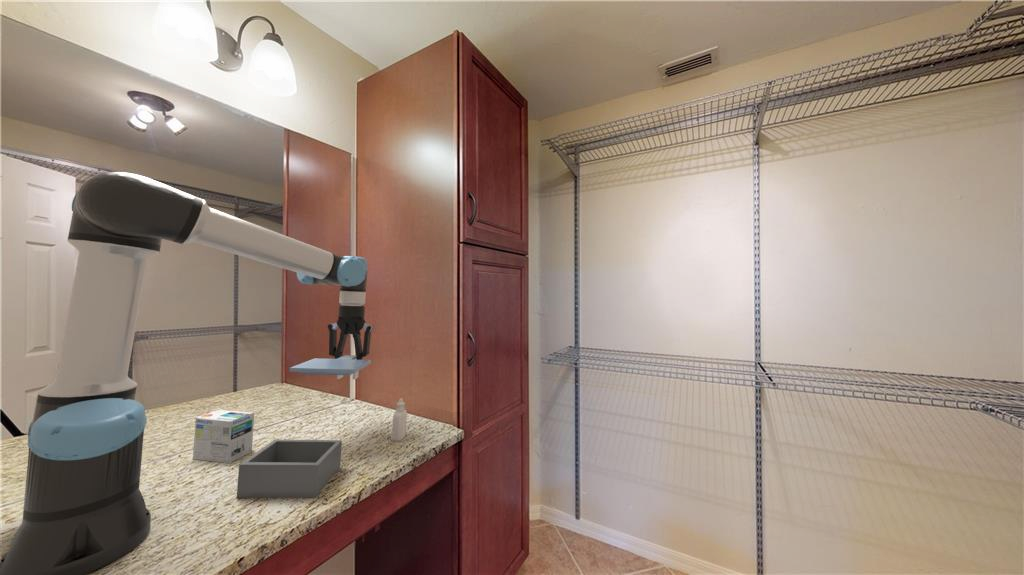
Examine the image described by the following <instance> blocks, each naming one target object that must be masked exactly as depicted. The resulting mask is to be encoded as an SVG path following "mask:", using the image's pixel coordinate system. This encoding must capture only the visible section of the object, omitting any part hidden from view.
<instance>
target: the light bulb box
mask: <svg viewBox="0 0 1024 575" xmlns="http://www.w3.org/2000/svg"><path fill="white" fill-rule="evenodd" d="M254 423H255V412H251V411H237V410H227V409H217V410H215V411H211V412H209V413H206V414H201V415H199V416H196V417H195V425H194V440H193V453H192V460H198V461H208V462H215V463H223V464H231V463H232V462H234V461H236V460H238V459H241V458H242V457H244V456H246V455H248V454H250V453H252V451H253V440H254V439H253V437H254V427H255V426H254Z"/></svg>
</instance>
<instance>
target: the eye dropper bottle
mask: <svg viewBox="0 0 1024 575" xmlns="http://www.w3.org/2000/svg"><path fill="white" fill-rule="evenodd" d="M405 405H406V402H404V400H403V398H399V401H398V402H397V403H396V408H395V409H396V410H395V412H394V413H393V416H392V427H391V428H392V429H391V440H392V441H393V442H400V441H401V440H403V439H404V438H405V436H406V431H407V420H408V419H407V418H408V417H407V416H408V415H407V414H408V412H407V410H406V408H405V407H406V406H405Z"/></svg>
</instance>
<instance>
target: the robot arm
mask: <svg viewBox="0 0 1024 575" xmlns="http://www.w3.org/2000/svg"><path fill="white" fill-rule="evenodd" d="M71 211H72V214H71V220H70V226H69V230H68V236H67V242H68V243H69V244H70V245H71V246H73V247H74V248H75V249H76V250H77V251H78V256H77V262H76V267H75V273H74V276H73V278H74V279H73V283H72V287H71V288H72V289H71V294H70V299H69V305H68V310H67V314H66V319H65V326H64V330H63V337H62V342H61V347H60V351H59V352H60V353H59V356H58V361H57V362H58V363H57V367H56V374H55V377H54V381H53V382H51V383H50V384H48V385H46V386H45V387H43V388H42V389H39V391H38V392H37V398H36V402H35V407H34V412H33V413H34V414H33V418H32V421H31V422H30V423H29V426H28V429H27V430H28V431H27V447H28V452H27V453H28V454H27V456H28V457H27V469H26V479H25V490H24V500H23V511H22V512H23V513H22V522H21V524H19V525H20V526H19V527H18V529H17V531H16V533H15V535H14V537H13V539H12V541H11V543H10V545H9V548H8V551H7V552H6V553H5V554H4V555H3V556H2V557H1V559H0V575H88V574H90V573H92V572H95V571H96V569H97V570H99V569H100V568H101V569H102V568H103V567H105V566H107V565H109V564H111V563H113V562H114V561H116V560H118V559H120V558H121V557H123V556H125V555H126V554H128V553H130V551H132V550H134V549H135V548H136V547H137V546H138V545H140V543H142V542H143V541H144V540H145V539H146V537H147V536H148V534H149V533H150V530H151V524H152V521H151V520H152V516H151V512H150V510H149V508H147V506H146V502H145V500H144V499H145V498H144V497H143V495H142V492H141V490H140V481H141V473H142V472H141V471H142V458H143V447H144V445H143V444H144V434H145V429H146V425H147V415H146V409H145V407H144V404H142V403H141V402H140V401H137V400H135V399H136V393H137V388H138V382H136V381H134V380H133V379H132V378H130V377H129V375H128V373H129V370H130V369H129V368H130V363H131V356H132V352H133V345H134V341H135V340H134V339H135V334H136V329H137V328H136V327H137V323H138V317H139V313H140V312H139V310H140V307H141V306H140V305H141V299H142V293H143V288H144V282H145V275H146V272H147V271H146V270H147V265H148V260H150V259H151V258H153V257H156V256H158V255H160V253H161V247H162V246H161V245H162V241H163V240H165V241H169V242H174V243H177V244H180V245H186V244H187V245H188V244H191V243H195V244H198V245H199V244H200V245H201V246H205V247H209V248H213V249H216V250H219V251H222V252H226V253H229V254H232V255H237V256H240V257H243V258H246V259H250V260H253V261H257V262H260V263H265V264H267V265H270V266H274V267H278V268H279V269H284V270H288V271H291V272H295V273H296V277H297V280H298V281H299V282H300V283H301V284H305V285H312V286H313V285H318V286H321V285H322V286H337V287H338V286H339V298H338V302H339V304H340V305H339V306H338V316H337V317H338V319H337V321H336V322H334V323H329V324H328V325H327V329H328V333H329V337H328V338H329V339H328V340H329V342H328V346H329V347H328V355H329V356H332V357H334V359H337V358H339V357H342V356H344V354H343V352H344V349H345V345H346V343H347V342H346V341H347V338H348V337H349V334H350V335H352V338H353V343H354V349H355V356H356V358H354V359H355V360H363V358H364V357H366V356H369V354H370V347H371V346H370V345H371V336H372V331H373V330H374V325H372V324H371V325H370V324H368V323H366V320H365V312H366V307H365V304H366V295H367V293H366V292H367V279H368V278H367V277H368V272H369V271H368V260H367V259H366V258H365V257H363V256H362V257H361V256H354V255H353V256H352V255H344V256H341V255H338V254H335V253H333V252H330V251H327V250H325V249H323V248H319V247H317V246H314V245H312V244H308V243H307V242H306V243H305V242H304V241H301V240H298V239H295V238H293V237H290V236H287V235H285V234H282V233H279V232H277V231H274V230H271V229H269V228H267V227H263V226H261V225H258V224H256V223H253V222H250V221H247V220H244V219H241V218H239V217H237V216H235V215H230V214H228V213H227V212H223V211H220V210H218V209H215V208H212V207H210V206H209V205H208V203H207V202H206V200H205V199H202V198H200V197H198V196H195V195H192V194H190V193H187V192H185V191H182V190H180V189H178V188H175V187H172V186H170V185H168V184H165V183H162V182H160V181H158V180H154V179H152V178H150V177H147V176H144V175H140V174H138V173H131V172H125V171H111V172H110V171H109V172H103V173H99V174H96V175H93V176H91V177H89V178H88V179H87V180H85V181H84V182H83V183H82V185H80V187H79V190H78V191H77V192H76V194H75V195H74V197H73V199H72V202H71ZM338 328H339V329H340V332H339V339H338V330H337V329H338ZM362 329H363V330H364V334H363V345H362V338H361V336H362V334H361V330H362ZM337 339H338V340H337ZM337 341H338V342H337ZM359 372H360V370H359V371H357V372H356V373H353V374H352V380H357V379H358V378H359V375H360V374H359ZM342 378H344V375H336V380H341V379H342Z"/></svg>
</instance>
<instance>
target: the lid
mask: <svg viewBox="0 0 1024 575" xmlns="http://www.w3.org/2000/svg"><path fill="white" fill-rule="evenodd" d="M354 358H356V354H355V355H354V354H353V355H348V354H345V355H344V354H343V355H342V356H341V357H339V358H337V359H335V358H316V357H315V358H312V359H310V360H307V361H304V362H301V363H299V364H296V365H293V366H291V367H289V372H290V373H292V372H293V373H299V375H322V376H323V375H324V376H325V375H327V376H337V375H343V376H353V373H356V372H357V371H359V372H360V371H361V370H362V369H364V368H365V367H368V366H369V365H371V364H372V359H362V360H355V359H354Z"/></svg>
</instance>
